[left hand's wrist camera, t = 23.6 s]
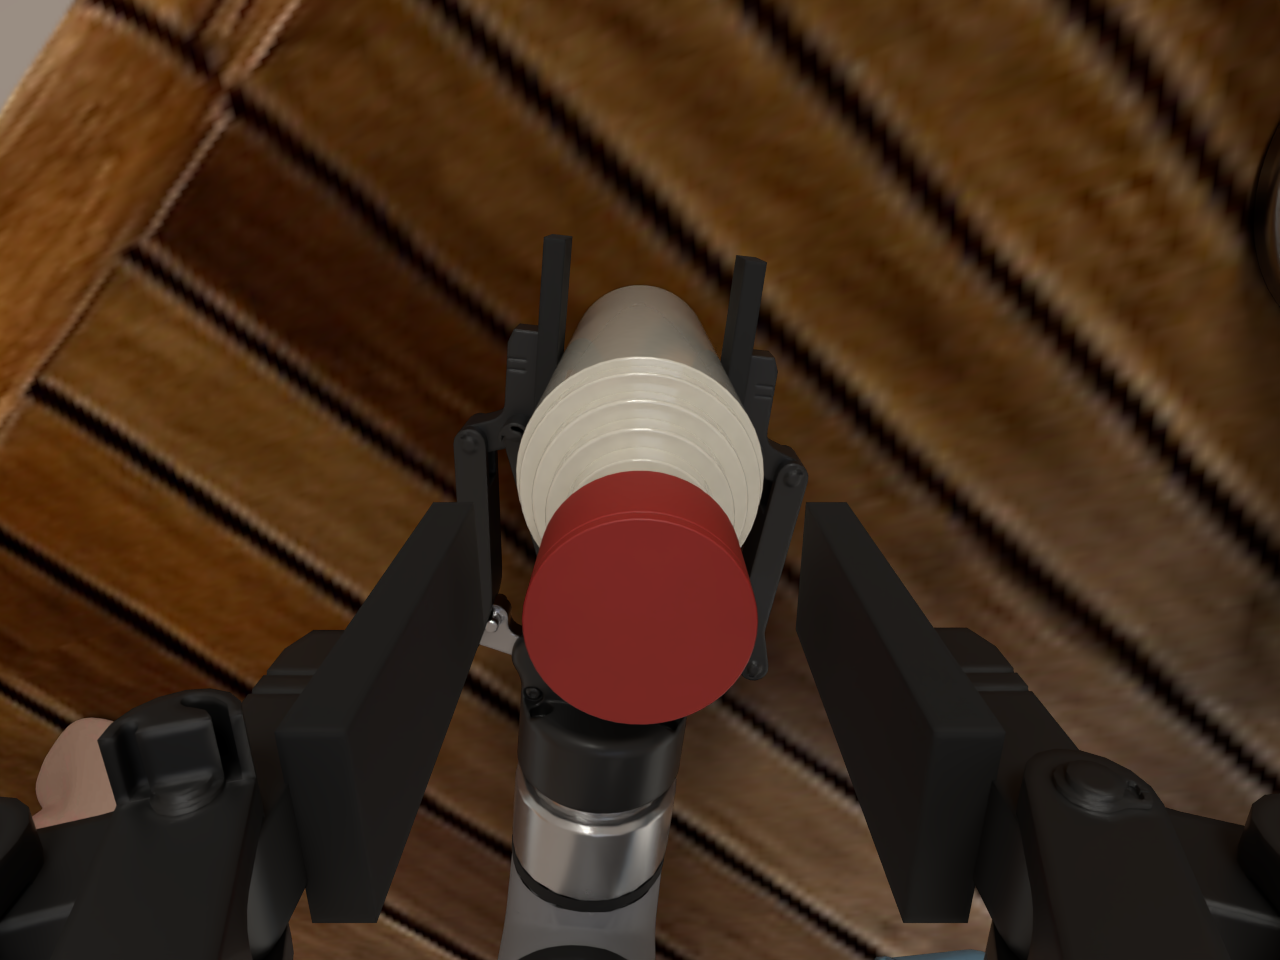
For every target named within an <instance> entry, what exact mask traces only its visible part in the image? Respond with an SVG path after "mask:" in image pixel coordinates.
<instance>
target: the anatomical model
mask: <svg viewBox="0 0 1280 960" xmlns="http://www.w3.org/2000/svg"><path fill="white" fill-rule="evenodd" d="M113 722H114V721H110V720H106V719H100V718H84V719H80V720H77V721H75V722H73V723H72V724H71V725H69V726H68V727H67V728H66V729H65V730H64V732H63V733H62V734H61V735H60V736H59V738H58V739H57V741H56V742H55V744H54V745H53V747H52V748H51V750H50V751H49V753H48V754H47V756H46V758H45V760H44V762H43V764H42V767H41V770H40V773H39V776H38V779H37V782H36V794H37V798H38V801H39V803H40V805H41V806H42V808H43V809H42V810H41V811H39V812H38V813H37V814H35V815H34V816H32V818H33V821H34V824H35V827H36V829H39V828H44V827H48V826H53V825H57V824H62V823H66V822H71V821H75V820H80V819H84V818H89V817H93V816H98V815H102V814H105V813H109V812H112V811H114V810H115V808H116V802H115V799H114V795H113V792H112V789H111V785H110V782H109V779H108V775H107V772H106V768H105V765H104V762H103V758H102V755H101V752H100V748H99V745H98V742H97V740H98V738H99V737H100V736H101V735H102V734H103V732H104V731H105V730H106V729H107V728H108V726H109V725H110V724H111V723H113Z"/></svg>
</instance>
